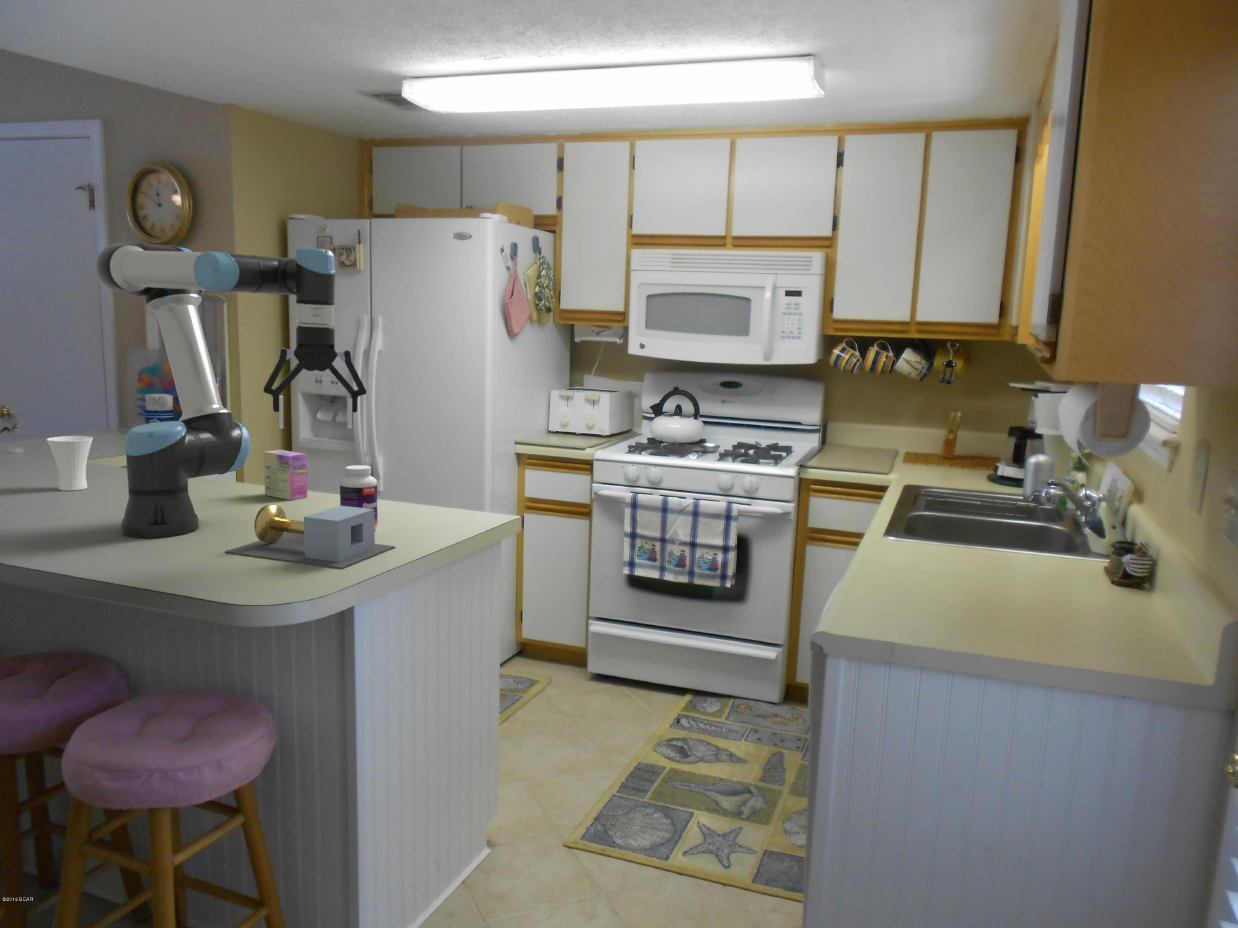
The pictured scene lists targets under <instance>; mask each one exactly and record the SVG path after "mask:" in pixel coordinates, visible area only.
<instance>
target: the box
mask: <svg viewBox="0 0 1238 928" xmlns="http://www.w3.org/2000/svg"><path fill="white" fill-rule="evenodd" d="M263 464H264V465H263V467H264V468H263V470H264V475H263V476H264V496H269V497H273V498H278V499H282V500H287V501H297V500H302V499H307V498H308V454H307V453H301V452H294V451H290V450H284V449H275V450H268V451H264V452H263Z"/></svg>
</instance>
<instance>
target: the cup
mask: <svg viewBox="0 0 1238 928" xmlns="http://www.w3.org/2000/svg"><path fill="white" fill-rule="evenodd" d="M93 439H94V438H93V436H88V435H65V436H55V437H48V438H46V441H47V444H48V446H49V449H50V452H51V453H52V455H53V458H54V460H55V461H54V462H55V465H56V467H57V471H58V473H57V474H58V480H59V481H58V490H60V491H66V492H67V491H68V492H70V491H80V490H85V489H88V483H87V462H88V461H87V460H88V459H89V454H90V449H91V446H92V443H93Z"/></svg>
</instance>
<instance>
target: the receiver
mask: <svg viewBox="0 0 1238 928" xmlns="http://www.w3.org/2000/svg"><path fill="white" fill-rule="evenodd" d="M303 521H304V545H305V557H306V558H314V559H321V560H328V561H336V562H340V561H342V560H345V559H348V558H350V557H353V556H355V555H358V554H361V553H363V552H366V551H368V550H371V549H373V548H375V544H376V542H375V540H376V538H375V537H376V536H375V530H376V529H374V509H367V508H358V507H349V506H340V505H339V506H336V507H333V508H330V509H326V510H323V511H319V512H316V513H312V514H308V515H306V516H304V517H303Z"/></svg>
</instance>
